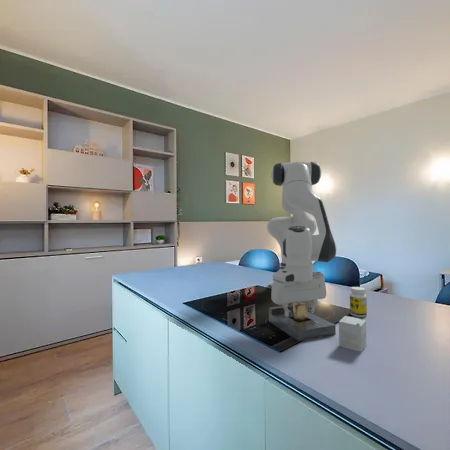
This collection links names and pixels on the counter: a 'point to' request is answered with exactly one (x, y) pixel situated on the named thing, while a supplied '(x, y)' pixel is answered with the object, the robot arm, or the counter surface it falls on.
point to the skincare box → (352, 333)
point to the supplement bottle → (358, 302)
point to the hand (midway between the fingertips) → (299, 313)
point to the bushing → (299, 312)
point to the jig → (300, 324)
